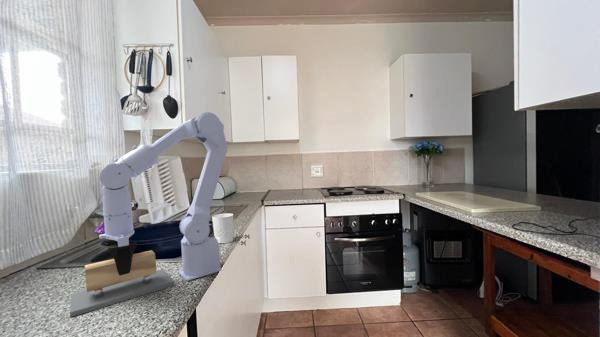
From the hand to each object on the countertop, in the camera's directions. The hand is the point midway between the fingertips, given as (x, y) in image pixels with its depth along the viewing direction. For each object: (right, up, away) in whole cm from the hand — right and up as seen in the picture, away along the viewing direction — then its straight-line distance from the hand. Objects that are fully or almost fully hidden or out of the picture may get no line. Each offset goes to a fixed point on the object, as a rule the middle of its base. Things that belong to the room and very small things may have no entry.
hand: (122, 269), depth 67 cm
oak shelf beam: (0, -3, 0) cm, 3 cm away
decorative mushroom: (-22, -6, +31) cm, 38 cm away
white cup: (+14, -4, +39) cm, 41 cm away
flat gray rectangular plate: (0, -6, 0) cm, 6 cm away
